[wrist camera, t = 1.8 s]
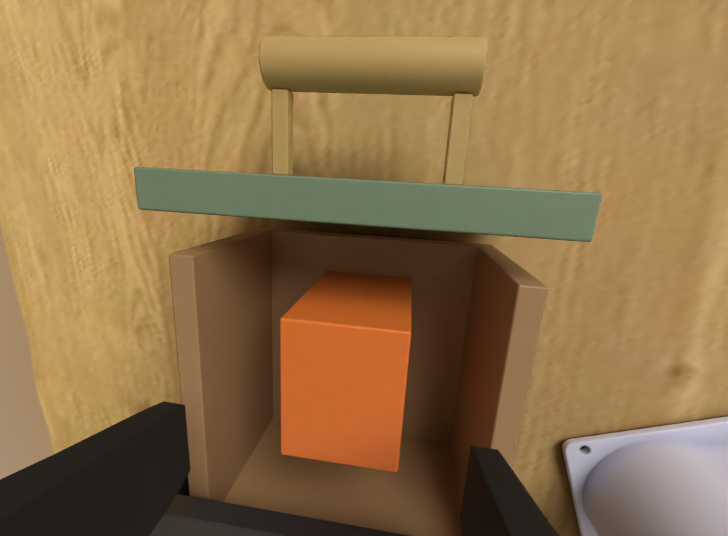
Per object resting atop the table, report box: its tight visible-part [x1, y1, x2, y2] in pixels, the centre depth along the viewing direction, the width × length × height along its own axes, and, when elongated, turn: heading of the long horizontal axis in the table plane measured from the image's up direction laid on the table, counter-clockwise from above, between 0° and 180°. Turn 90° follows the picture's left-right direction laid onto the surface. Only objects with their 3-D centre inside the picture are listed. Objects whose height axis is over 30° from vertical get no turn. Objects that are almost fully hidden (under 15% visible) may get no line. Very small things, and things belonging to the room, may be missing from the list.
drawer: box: [134, 36, 602, 536], centre depth 14 cm, size 18×12×7 cm
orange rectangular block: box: [280, 271, 412, 472], centre depth 14 cm, size 5×4×6 cm
